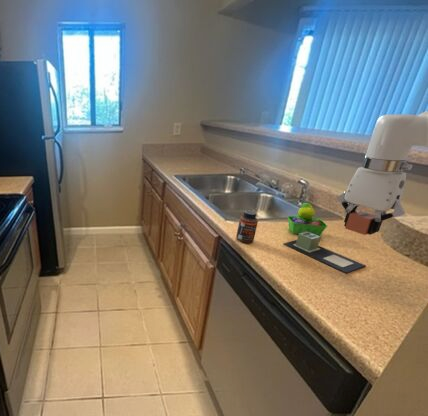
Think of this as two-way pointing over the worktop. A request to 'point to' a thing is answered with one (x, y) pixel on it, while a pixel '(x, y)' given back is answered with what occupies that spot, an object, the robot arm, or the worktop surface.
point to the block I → (359, 222)
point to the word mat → (328, 258)
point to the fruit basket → (306, 221)
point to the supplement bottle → (247, 227)
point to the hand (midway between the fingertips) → (359, 228)
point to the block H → (308, 240)
